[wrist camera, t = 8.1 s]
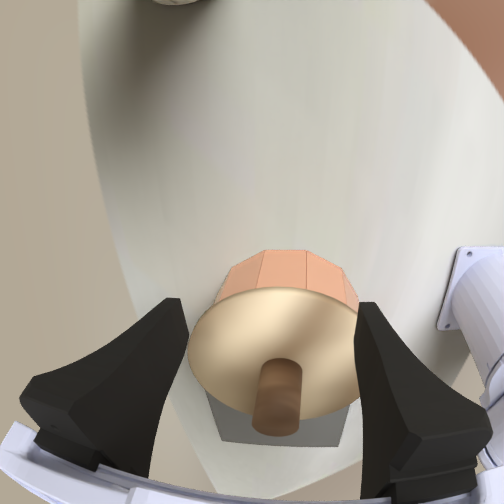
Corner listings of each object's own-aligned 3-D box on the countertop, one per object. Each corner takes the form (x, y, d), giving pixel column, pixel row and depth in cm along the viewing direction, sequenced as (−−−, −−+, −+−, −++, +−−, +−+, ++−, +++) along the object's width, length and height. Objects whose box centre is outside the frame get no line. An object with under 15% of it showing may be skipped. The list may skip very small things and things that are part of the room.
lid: (407, 308, 18) (428, 373, 13) (339, 421, 24) (339, 473, 20) (194, 265, 19) (162, 325, 14) (189, 393, 25) (171, 444, 21)
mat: (356, 371, 28) (356, 376, 28) (337, 442, 35) (337, 446, 35) (201, 366, 31) (199, 370, 30) (222, 437, 38) (221, 440, 37)
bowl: (363, 250, 22) (375, 292, 18) (348, 358, 27) (351, 402, 23) (209, 250, 24) (189, 289, 20) (228, 354, 29) (216, 397, 25)
